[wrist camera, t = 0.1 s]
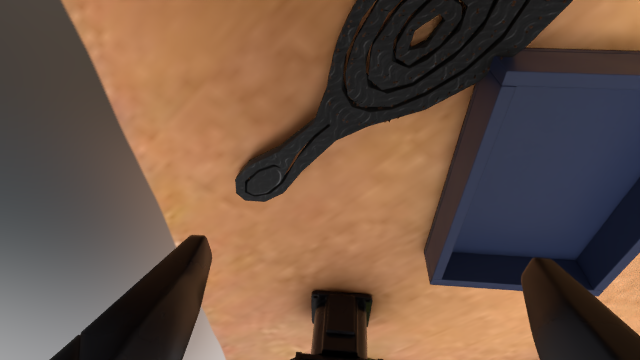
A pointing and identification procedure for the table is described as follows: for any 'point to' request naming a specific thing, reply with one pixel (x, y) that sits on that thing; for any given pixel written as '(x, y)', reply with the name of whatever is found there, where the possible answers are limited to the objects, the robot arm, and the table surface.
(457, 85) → the hairbrush
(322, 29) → the table surface
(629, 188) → the blue tray
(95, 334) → the robot arm
